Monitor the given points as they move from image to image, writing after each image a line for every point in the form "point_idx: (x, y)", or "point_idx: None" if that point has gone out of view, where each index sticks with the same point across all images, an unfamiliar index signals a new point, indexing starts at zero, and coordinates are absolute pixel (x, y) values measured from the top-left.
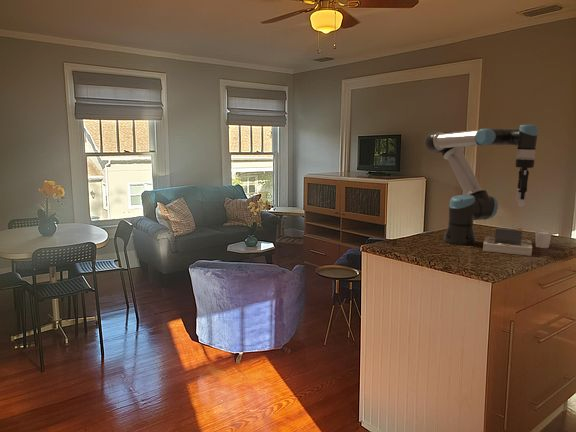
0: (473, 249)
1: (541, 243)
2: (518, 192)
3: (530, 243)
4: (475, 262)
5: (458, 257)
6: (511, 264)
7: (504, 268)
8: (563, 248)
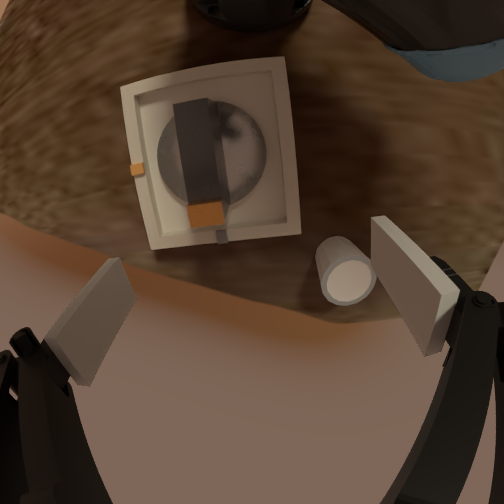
0: (138, 58)
1: (317, 261)
2: (415, 280)
3: (216, 239)
4: (10, 135)
5: (27, 81)
6: (39, 209)
7: (8, 204)
8: (338, 307)
